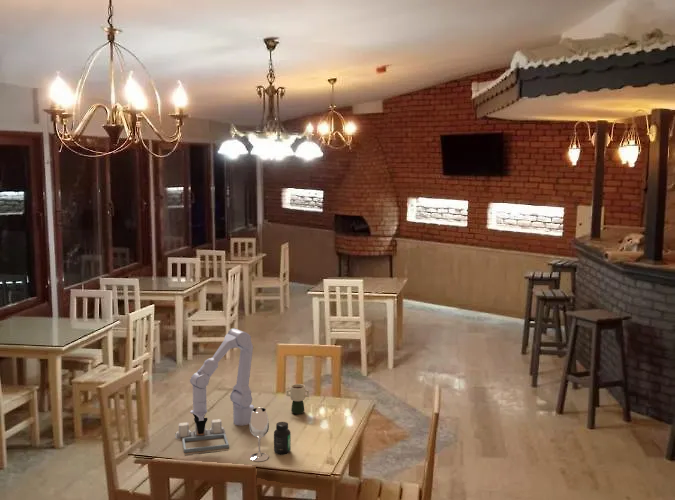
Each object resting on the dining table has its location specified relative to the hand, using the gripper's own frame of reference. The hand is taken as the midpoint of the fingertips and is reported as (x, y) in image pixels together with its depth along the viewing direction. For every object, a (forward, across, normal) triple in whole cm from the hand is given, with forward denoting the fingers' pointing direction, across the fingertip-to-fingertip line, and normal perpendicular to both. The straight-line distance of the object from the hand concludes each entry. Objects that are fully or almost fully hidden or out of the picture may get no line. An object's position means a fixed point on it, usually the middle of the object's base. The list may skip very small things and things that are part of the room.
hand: (200, 430), depth 291 cm
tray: (+2, +12, +1) cm, 12 cm away
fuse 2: (+1, 0, +7) cm, 7 cm away
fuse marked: (+1, 0, 0) cm, 1 cm away
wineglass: (+3, +28, +21) cm, 35 cm away
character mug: (+3, -16, +47) cm, 50 cm away
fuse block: (+2, 0, 0) cm, 2 cm away
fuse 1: (+1, 0, -7) cm, 7 cm away
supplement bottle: (+3, +25, +31) cm, 40 cm away
